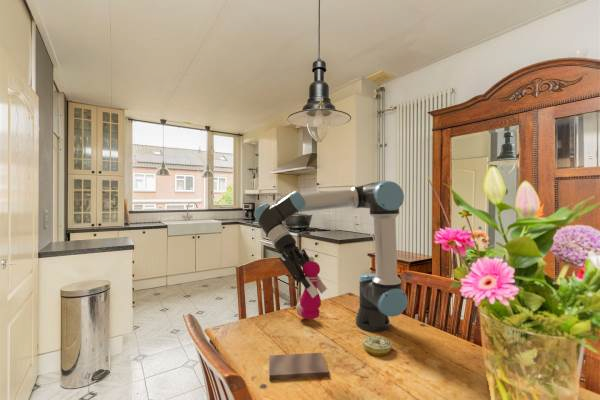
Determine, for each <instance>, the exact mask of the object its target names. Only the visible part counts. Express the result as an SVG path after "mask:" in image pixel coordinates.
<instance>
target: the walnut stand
mask: <svg viewBox="0 0 600 400" xmlns="http://www.w3.org/2000/svg"><path fill="white" fill-rule="evenodd" d="M268 362H269V363H268V364H269V365H268V366H269V367H268V369H269V372H268V373H269V376H268V377H269V378H268V379H269V381H277V380H294V379H309V378H310V379H313V378H323V377H324V378H325V377H326V378H327V377H328V378H329V375H330V373H329V369H328V366H327V363H326V361H325V357H324V354H323V352H312V353H311V352H309V353H307V352H306V353H294V354H293V353H290V354H288V353H287V354H271V355H270V354H269V358H268Z"/></svg>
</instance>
